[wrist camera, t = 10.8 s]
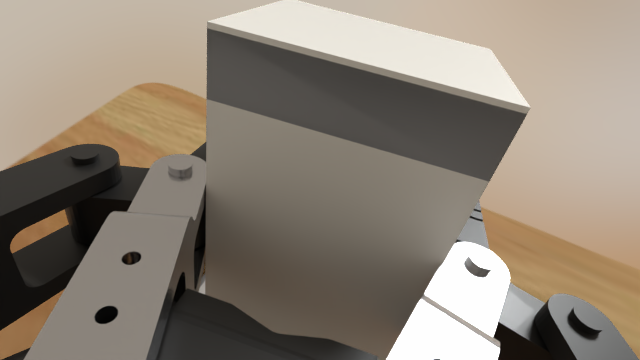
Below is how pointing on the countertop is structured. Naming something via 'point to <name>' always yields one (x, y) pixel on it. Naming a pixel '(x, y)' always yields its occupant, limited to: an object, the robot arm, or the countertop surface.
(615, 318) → the countertop surface
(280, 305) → the block
